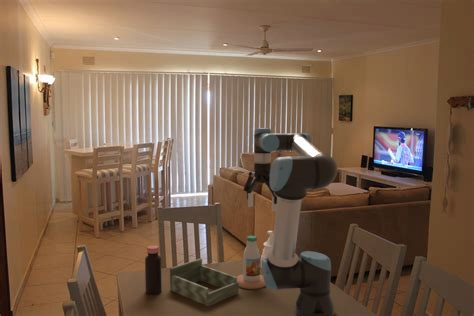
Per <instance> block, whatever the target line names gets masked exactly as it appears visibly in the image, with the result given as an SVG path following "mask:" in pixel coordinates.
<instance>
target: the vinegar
mask: <svg viewBox="0 0 474 316" xmlns="http://www.w3.org/2000/svg"><path fill="white" fill-rule="evenodd" d="M146 249H147V250H146V252H147V253H146V254H147V255H146V256H145V258H144V266H145V267H144V268H145V269H144V271H145V272H144V273H145V274H144V275H145V293H146V294H147V295H158V294H160V293H162V257H161V256H160V255H159V252H160V247H159V245H156V244H155V245H148V246H146Z"/></svg>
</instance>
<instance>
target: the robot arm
mask: <svg viewBox="0 0 474 316" xmlns="http://www.w3.org/2000/svg"><path fill="white" fill-rule="evenodd" d="M253 140H254V142H253V147H254V148H253V151H254V153H253V154H254V155H253V161H254V165H253V171H249V172H248V178H247V180H246V182H245V185H244V187H243V192H246V199H247V207H248V208H252V207H254V192H253V190H254V189H255V188H256V187H257V185H258V184H260V183H262V184H265V185H266V186H267V188H268V190H269V191H270V193H271V195H272V196H271V211H272V212H275V215H274V217H275V218H274V225H273V227H274V228H273V234H274V235H273V245H272V250H271V251H269V253H268V255H267V259H266V258H265V259H263V260H262V268H261V271H262V275H263V278H264V282H265V285H266V286H265V287H266V289H267V290H269V291H270V290H271V291H273V290H274V291H279V290H291V289H299V294H298V297H297V299H296V302H295V305H294V312H295V314H296V315H297V316H335V306H334V303H333V300H332V299H333V298H332V296H331V275H332V273H331V272H332V265H331V264H332V263H331V258H329V257H328V256H327V255H326V254H323V253H320V252H317V251H310V250H307V251H306V250H305V251H302V252H301V253H300V254H299V256H298V254H297V253H296V247H297V237H298V232H299V222H300V214H301V208H302V200H304V199H305V198H306V197H307V195H308V191H310V190H321V189H324V188H325V189H326V187H329V186H330V185H331V184H332V183H333V182H334V180H335V179H336V177H337V175H338V165H337V163H336V160H335V159H334V158H333V157H332V156H331V155H330V154H328V153H326V152H322V151H321V150H320V149H318V148H317V147H316V146H315V145H314V144H313V143H312V138H311V135H310V134H309V133H303V132H298V133H297V132H296V133H295V132H294V133H293V132H289V133H286V132H285V133H283V132H282V133H281V132H280V133H279V132H278V133H277V132H276V133H274V132H273V133H272V129H271V128H270V127H256V128H255V129H254V134H253ZM272 152H294V153H295V155H297V156H290V155H287V156H279V157H276V158H275V159H274V160H273V161H272ZM271 161H272V163H271Z"/></svg>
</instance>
